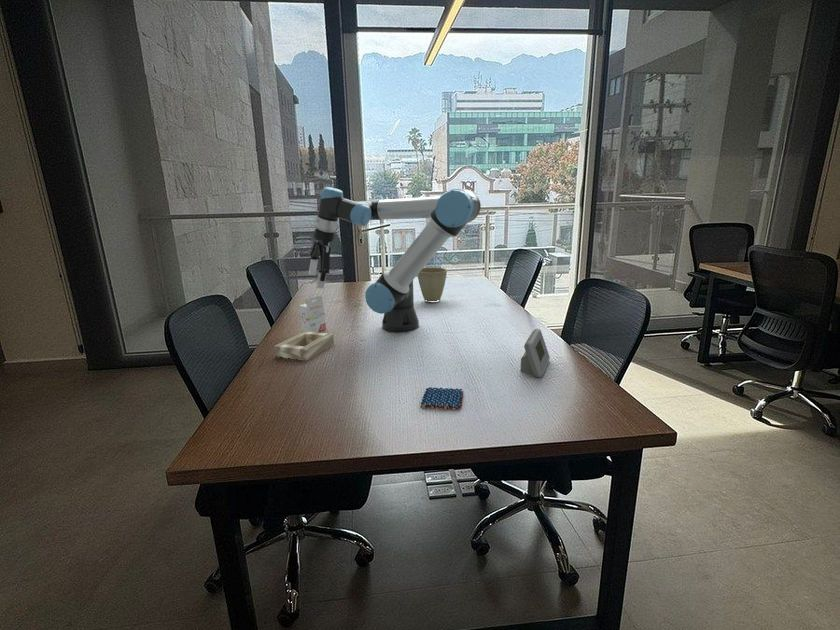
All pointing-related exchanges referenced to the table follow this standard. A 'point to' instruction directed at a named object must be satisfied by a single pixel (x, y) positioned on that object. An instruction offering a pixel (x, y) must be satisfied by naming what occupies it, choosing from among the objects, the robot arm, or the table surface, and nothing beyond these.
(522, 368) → the digital clock
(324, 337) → the beige flat rectangular frame
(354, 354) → the table surface
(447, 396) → the woven mat
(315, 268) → the robot arm
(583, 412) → the table surface
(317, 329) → the ink cartridge box
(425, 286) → the plant pot
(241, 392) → the table surface
